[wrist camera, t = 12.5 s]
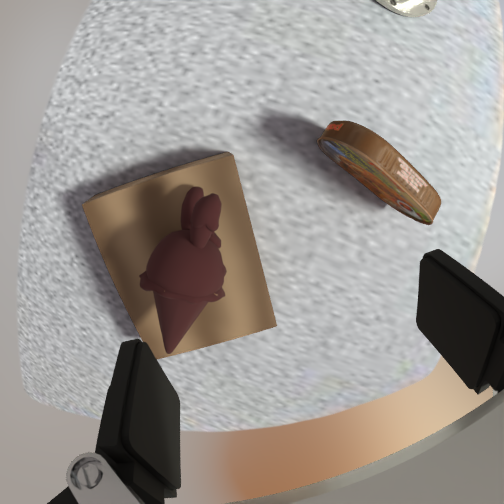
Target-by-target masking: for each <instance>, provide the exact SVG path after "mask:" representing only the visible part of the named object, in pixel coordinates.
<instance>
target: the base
mask: <svg viewBox="0 0 504 504" xmlns="http://www.w3.org/2000/svg"><path fill="white" fill-rule="evenodd" d="M195 186H196V187H201V188H202V189H203V192H204V196H207V195H209V194H211V193H214V194H217V195H219V198H220V201H221V203H222V205H221V213H220V217H219V227H218V229H217V230H216V231H214V232H215V233H216V234H217V236H218V237H219V238H220V239H221V247H220V248H219V250H220V252H221V255H222V261H223V264H224V266H225V267H226V271H227V272H226V275H225V276H224V283H223V286H222V288H223V290H224V292H225V297H222V298H221V299H220V300H218V301H215V302H208V303H207V305H206V306H205V307H204V309H203V310H202V312H201V313H200V314H199V316H198V317H197V319H196V320H195V321H194V323H193V324H192V326H191V327H190V328H189V330H188V331H187V333H186V334H185V335H184V337H183V338H182V340H181V341H180V342H179V344H178V345H177V347H176V348H175V349H174V351H173V352H172V353H171V354H167V353H166V351H165V348H164V343H163V338H162V333H161V329H160V324H159V319H158V315H157V310H156V305H155V299H154V294H153V291H145V290H143V289H142V288H141V287H140V279H141V278H140V277H139V275H140V274H142V273H143V272H145V271H146V266H147V263H148V260H149V258H150V256H151V254H152V252H153V250H154V249H155V247H156V246H157V245H158V243H159V242H160V241H161V239H163V238H164V237H165V236H167V235H168V234H170V233H171V232H174V231H179V230H182V228H181V208H182V203H183V201H184V198H185V196H186V194H187V192H188V191H189V190H190V189H191V188H192V187H195ZM82 206H83V209H84V212H85V214H86V217H87V220H88V222H89V225H90V228H91V230H92V233H93V235H94V238H95V240H96V243H97V245H98V248H99V250H100V252H101V255H102V257H103V260H104V262H105V264H106V266H107V269H108V271H109V273H110V275H111V278H112V280H113V282H114V284H115V286H116V289H117V291H118V293H119V295H120V297H121V299H122V301H123V303H124V305H125V307H126V309H127V312H128V314H129V316H130V318H131V320H132V321H133V323H134V325H135V327H136V329H137V331H138V333H139V335H140V337H141V339H142V341H143V342H146V343H147V344H148V345H149V347H150V349H151V351H152V352H153V354H154V356H155V358H156V359H160V358H164V357H168V356H172V355H176V354H180V353H184V352H188V351H192V350H196V349H200V348H204V347H207V346H211V345H215V344H218V343H222V342H225V341H229V340H232V339H236V338H239V337H243V336H246V335H250V334H253V333H256V332H260V331H263V330H266V329H269V328H273V327H276V326H277V324H276V320H275V316H274V312H273V308H272V304H271V300H270V296H269V292H268V288H267V284H266V280H265V276H264V272H263V269H262V265H261V261H260V257H259V253H258V249H257V245H256V241H255V237H254V233H253V229H252V225H251V222H250V218H249V214H248V210H247V206H246V202H245V198H244V194H243V190H242V187H241V183H240V179H239V175H238V171H237V167H236V163H235V159H234V156H233V154H231V153H230V152H226V153H222V154H218V155H215V156H211V157H208V158H204V159H201V160H197V161H194V162H190V163H187V164H184V165H181V166H177V167H174V168H171V169H168V170H165V171H162V172H159V173H156V174H153V175H150V176H147V177H144V178H141V179H138V180H135V181H132V182H129V183H126V184H124V185H121V186H118V187H115V188H113V189H110V190H107V191H105V192H102V193H99V194H97V195H94V196H93V197H92V198H90V199H89V200H88V201H86V202H85V203H84V204H82Z"/></svg>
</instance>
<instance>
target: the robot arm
mask: <svg viewBox="0 0 504 504" xmlns="http://www.w3.org/2000/svg"><path fill="white" fill-rule="evenodd" d="M376 1H377V2H379V3H380V4H381V5H383V6H384V7H386V8H387V9H389V10H391V11H393V12H395V13H397V14H400V15H402V16H407V17H420V16H424V15H426V14H428V13H430V12H431V11H432V10H433V9H434V8H435V6H436V3H437V0H376ZM416 323H417V326H418V328H419V330H420V331H421V332H422V333H423V334H424V335H425V337H426V338H427V339H428V340H429V341H430V342H431V343H432V345H433V346H434V347H435V348H436V349H437V350H438V352H439V353H440V354H441V355H442V356H443V358H444V359H445V360H446V361H447V362H448V364H449V365H450V366H451V367H452V368H453V369H454V371H455V372H456V373H457V374H458V376H459V377H460V378H461V379H462V380H463V382H464V383H465V384H466V386H467V387H468V388H469V389H474V390H475V392H476V393H477V394H479V393H481V392H483V391H484V390H486V389H487V388H488V387H489V386H491V387H492V388H493V397H492V398H491V399H489V400H488V401H486V402H485V403H483V404H482V405H480V406H479V407H478V408H476V409H474V410H473V411H471V412H469V413H468V414H466V415H465V416H463V417H462V418H460V419H458V420H457V421H455V422H453V423H452V424H450V425H448V426H446V427H445V428H443V429H441V430H439V431H437V432H436V433H434V434H432V435H430V436H428V437H426V438H424V439H422V440H420V441H419V442H417V443H415V444H413V445H410V446H409V447H407V448H404V449H402V450H400V451H398V452H396V453H394V454H391V455H389V456H387V457H385V458H382V459H380V460H378V461H375V462H373V463H370V464H368V465H365V466H363V467H360V468H358V469H355V470H352V471H350V472H347V473H344V474H342V475H339V476H336V477H333V478H330V479H327V480H323V481H321V482H317V483H314V484H310V485H307V486H304V487H300V488H296V489H293V490H289V491H285V492H281V493H277V494H273V495H269V496H264V497H259V498H254V499H249V500H243V501H238V502H232V503H226V504H504V297H503V296H502V295H501V294H499V293H498V292H497V291H496V290H495V289H493V288H492V287H491V286H490V285H488V284H487V283H486V282H484V281H483V280H482V279H480V278H479V277H478V276H476V275H475V274H474V273H472V272H471V271H470V270H468V269H467V268H466V267H464V266H463V265H461V264H460V263H459V262H457V261H456V260H454V259H453V258H452V257H450V256H449V255H447V254H446V253H445V252H443V251H442V250H440V249H436V250H433V251H431V252H428V253H425V254H424V256H423V259H422V260H421V261H420V273H419V291H418V305H417V316H416ZM66 480H67V483H68V487H67V488H66V489H64V490H63V491H62V492H61V493H60V494H58V495H57V496H56V497H55V498H54V499H52V500H51V501H50V502H49V503H47V504H164V498H174V497H177V492H176V489H179V488H180V487H181V469H180V400H179V397H178V394H177V393H176V391H175V389H174V388H173V386H172V385H171V383H170V381H169V380H168V378H167V376H166V375H165V373H164V371H163V370H162V368H161V366H160V365H159V363H158V361H157V359H156V358H155V356H154V354H153V352H152V351H151V349H150V347H149V345H148V344H147V343H146V342H142V341H141V340H140V339H134V340H130V341H125V342H122V344H121V346H120V350H119V354H118V357H117V361H116V365H115V369H114V373H113V377H112V381H111V385H110V386H109V389H108V392H107V396H106V401H105V405H104V410H103V414H102V419H101V424H100V429H99V434H98V439H97V444H96V450H95V453H89V452H88V453H84V454H81V455H79V456H78V457H76V458H75V459H74V460H73V461H72V462H71V464H70V465H69V467H68V470H67V473H66Z"/></svg>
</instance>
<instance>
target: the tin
mask: <svg viewBox="0 0 504 504" xmlns="http://www.w3.org/2000/svg"><path fill="white" fill-rule="evenodd" d="M317 144H318V146H319V147H320V149H321V150H322V151H323V152H324V153H325V154H326V155H327V156H328V157H329V158H330V159H332V160H333V161H334V162H335V163H337V164H338V165H339V166H341V167H342V168H343V169H344V170H346V171H347V172H348V173H350V174H351V175H352V176H353V177H355V178H356V179H357V180H358V181H360V182H361V183H362V184H363V185H364V186H366V187H367V188H368V189H369V190H371V191H372V192H373V193H374V194H375V195H377V196H378V197H379V198H380V199H381V200H383V201H384V202H386V203H387V204H388V205H390V206H391V207H393V208H394V209H396V210H397V211H399V212H401V213H402V214H404V215H406V216H408V217H409V218H412V219H414V220H415V221H418V222H420V223H423V224H426V225H431V224H432V223H433V220H434V218H435V216H436V214H437V212H438V210H439V208H440V206H441V199H440V196H439V195H438V193H437V192H436V190H435V189H434V188H433V187H432V186H431V185H430V184H429V182H428V181H427V180H426V179H425V178H424V177H423V176H422V175H421V174H420V173H419V172H418V171H417V170H416V169H415V168H414V167H413V166H412V165H411V164H410V163H409V162H408V161H407V160H406V159H405V158H404V157H403V156H402V155H401V154H400V153H399V152H398V151H397V150H396V149H395V148H394V147H393V146H392V145H390V144H389V143H388V142H387V141H386V140H384V139H383V138H382V137H380V136H379V135H378V134H376V133H374V132H373V131H371V130H369V129H368V128H366V127H364V126H362V125H359V124H357V123H354V122H351V121H333V122H331V123H330V124H329V125H328V126H327V128H326V129H325V131H324V133H323V134H322V136H321V137H320V138H319V139H318V140H317Z"/></svg>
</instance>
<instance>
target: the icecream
mask: <svg viewBox="0 0 504 504" xmlns="http://www.w3.org/2000/svg"><path fill="white" fill-rule="evenodd" d="M221 205H222V203H221V201H220V198H219V195H217V194H214V193H211V194H209V195H207V196H204V192H203V189H202V188H201V187H196V186H195V187H192V188H191V189H190V190H189V191H188V192H187V194H186V196H185V198H184V201H183V203H182V208H181V228H182V230H179V231H174V232H171V233H170V234H168V235H167V236H165V237H164V238H163V239H161V241H160V242H159V243H158V245H157V246H156V247H155V249H154V250H153V252H152V254H151V256H150V258H149V260H148V263H147V266H146V271H145V272H143V273H142V274H140V275H139V277H140V278H141V279H140V287H141V288H142V289H143V290H145V291H153V294H154V299H155V305H156V310H157V315H158V319H159V324H160V329H161V333H162V338H163V343H164V348H165V351H166V353H167V354H171V353H172V352H173V351H174V349H175V348H176V347H177V345H178V344H179V342H180V341H181V340H182V338H183V337H184V335H185V334H186V333H187V331H188V330H189V328H190V327H191V326H192V324H193V323H194V321H195V320H196V319H197V317H198V316H199V314H200V313H201V312H202V310H203V309H204V307H205V306H206V305H207V303H208V302H215V301H218V300H220V299H221V298H222V297H225V292H224V290H223V288H222V286H223V283H224V276H225V275H226V272H227V271H226V267H225V266H224V264H223V261H222V255H221V252H220V250H219V248H220V247H221V239H220V238H219V237H218V236H217V234H216V233H215V232H214V231H216V230H217V229H218V227H219V217H220V213H221Z"/></svg>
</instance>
